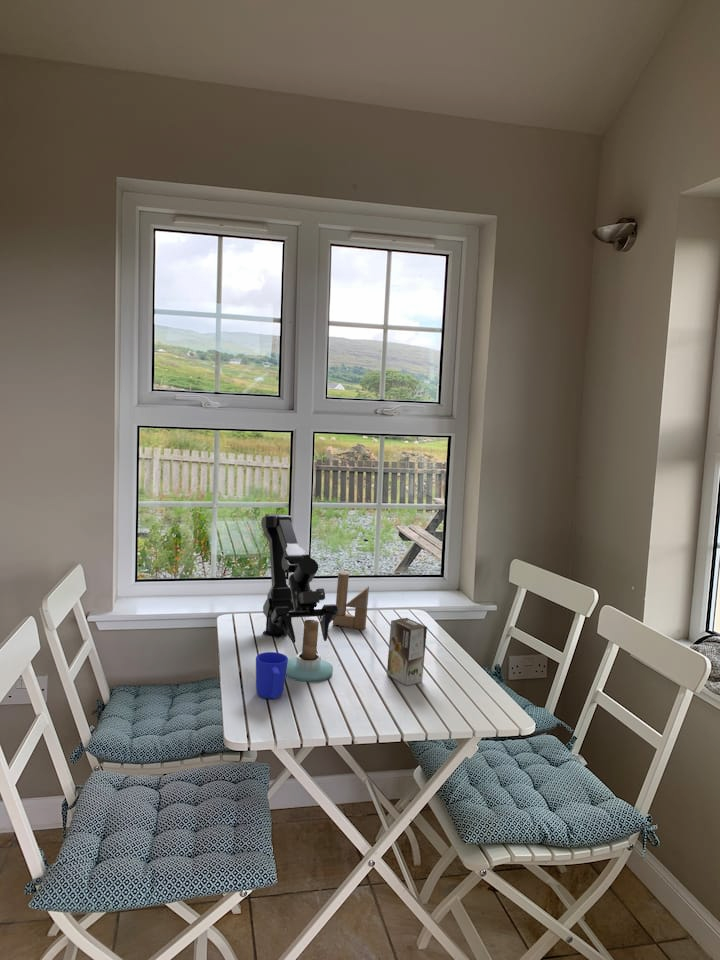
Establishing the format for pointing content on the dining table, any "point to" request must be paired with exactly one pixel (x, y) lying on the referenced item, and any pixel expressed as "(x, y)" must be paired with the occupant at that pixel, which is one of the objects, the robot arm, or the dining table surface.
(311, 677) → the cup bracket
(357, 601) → the wooden block
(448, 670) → the dining table surface
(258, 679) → the mug
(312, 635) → the dowel
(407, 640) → the coffee box
